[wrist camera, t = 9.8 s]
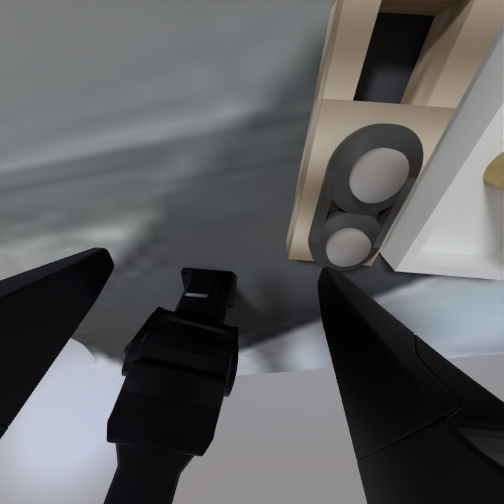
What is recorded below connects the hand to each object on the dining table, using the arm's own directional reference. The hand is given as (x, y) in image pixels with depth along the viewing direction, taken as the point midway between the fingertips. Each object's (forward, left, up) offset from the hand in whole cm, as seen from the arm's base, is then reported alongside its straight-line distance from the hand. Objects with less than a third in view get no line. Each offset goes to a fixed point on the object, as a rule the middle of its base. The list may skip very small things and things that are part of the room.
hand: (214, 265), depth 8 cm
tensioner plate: (+3, -9, -12) cm, 15 cm away
